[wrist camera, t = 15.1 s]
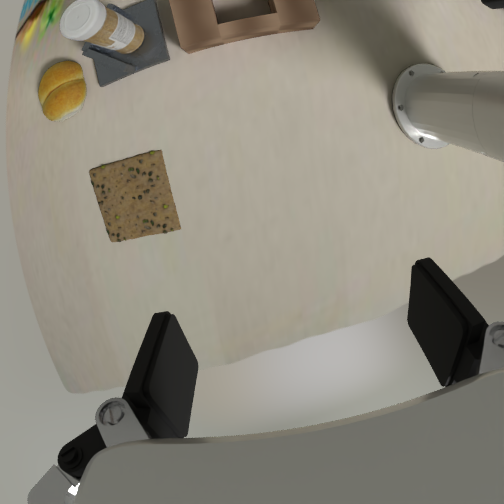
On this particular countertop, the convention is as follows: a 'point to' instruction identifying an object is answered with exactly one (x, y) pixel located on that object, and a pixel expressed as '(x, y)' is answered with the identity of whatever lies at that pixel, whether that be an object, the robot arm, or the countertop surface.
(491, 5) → the milk frother
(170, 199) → the cookie
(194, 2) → the wooden block with hole
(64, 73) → the bread roll
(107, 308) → the countertop surface
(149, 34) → the v block
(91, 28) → the sprinkles bottle
